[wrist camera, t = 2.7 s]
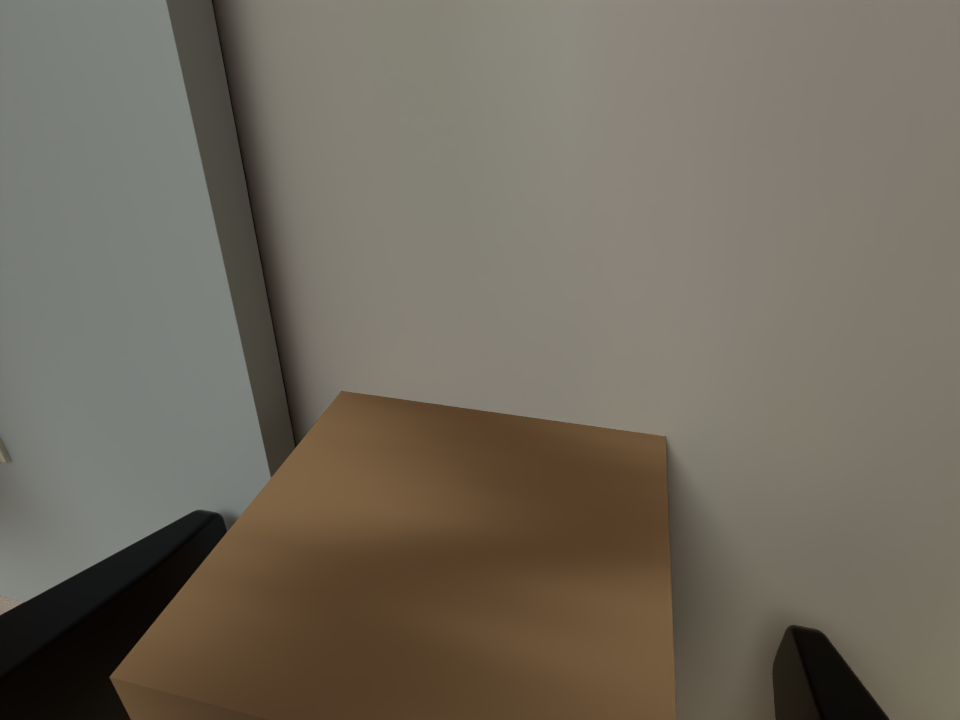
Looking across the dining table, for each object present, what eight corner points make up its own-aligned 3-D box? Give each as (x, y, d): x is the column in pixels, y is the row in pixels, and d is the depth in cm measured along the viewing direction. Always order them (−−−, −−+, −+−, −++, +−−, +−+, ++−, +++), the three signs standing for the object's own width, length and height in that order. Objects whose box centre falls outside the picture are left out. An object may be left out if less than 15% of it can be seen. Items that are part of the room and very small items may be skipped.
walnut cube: (665, 433, 9) (681, 830, 4) (623, 651, 11) (608, 1037, 7) (343, 388, 10) (109, 677, 6) (371, 597, 12) (224, 905, 8)
